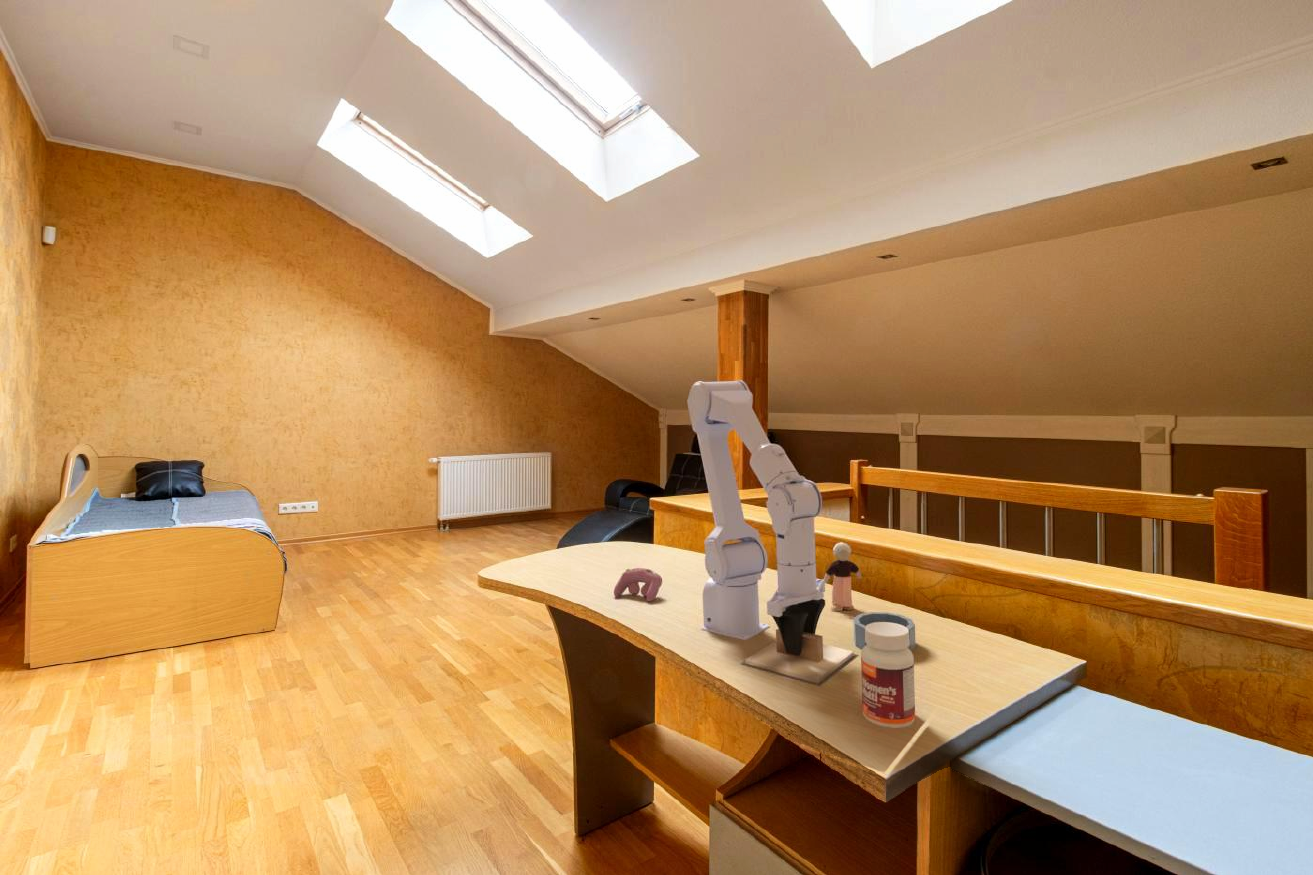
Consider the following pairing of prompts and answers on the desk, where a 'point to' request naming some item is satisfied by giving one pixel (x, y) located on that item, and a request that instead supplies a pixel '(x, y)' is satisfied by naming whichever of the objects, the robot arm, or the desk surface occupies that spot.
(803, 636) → the lid
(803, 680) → the mat
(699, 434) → the robot arm
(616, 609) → the desk surface
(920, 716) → the desk surface
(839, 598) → the grandmother figurine
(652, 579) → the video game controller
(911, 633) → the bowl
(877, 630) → the pill bottle
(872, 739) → the desk surface
